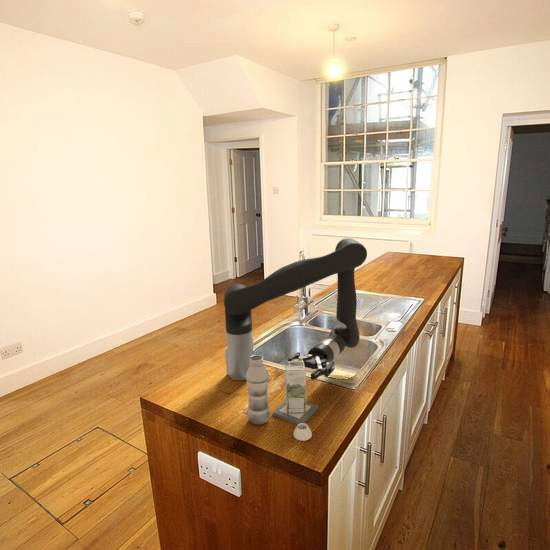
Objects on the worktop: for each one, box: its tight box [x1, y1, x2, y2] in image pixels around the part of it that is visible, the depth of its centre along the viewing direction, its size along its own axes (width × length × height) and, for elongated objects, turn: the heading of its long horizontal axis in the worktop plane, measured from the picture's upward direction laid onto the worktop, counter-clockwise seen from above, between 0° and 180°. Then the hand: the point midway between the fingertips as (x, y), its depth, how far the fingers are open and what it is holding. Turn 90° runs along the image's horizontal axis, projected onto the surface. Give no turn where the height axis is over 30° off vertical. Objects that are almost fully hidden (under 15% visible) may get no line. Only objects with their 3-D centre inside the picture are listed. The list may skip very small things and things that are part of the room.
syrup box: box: [284, 360, 307, 414], centre depth 113 cm, size 6×6×14 cm
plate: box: [272, 400, 319, 425], centre depth 115 cm, size 10×10×1 cm
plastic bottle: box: [245, 354, 271, 425], centre depth 109 cm, size 6×7×20 cm
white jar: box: [292, 422, 313, 442], centre depth 104 cm, size 5×3×5 cm
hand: (299, 373), depth 115 cm, fingers open, 8 cm apart
